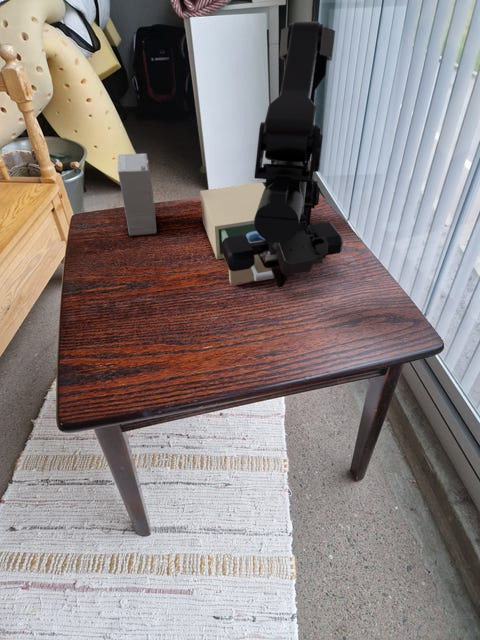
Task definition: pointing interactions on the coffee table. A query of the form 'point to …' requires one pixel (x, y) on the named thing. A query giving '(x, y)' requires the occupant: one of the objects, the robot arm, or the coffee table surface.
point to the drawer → (257, 269)
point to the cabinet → (229, 209)
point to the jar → (254, 236)
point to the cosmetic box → (137, 193)
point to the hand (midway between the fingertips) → (279, 286)
